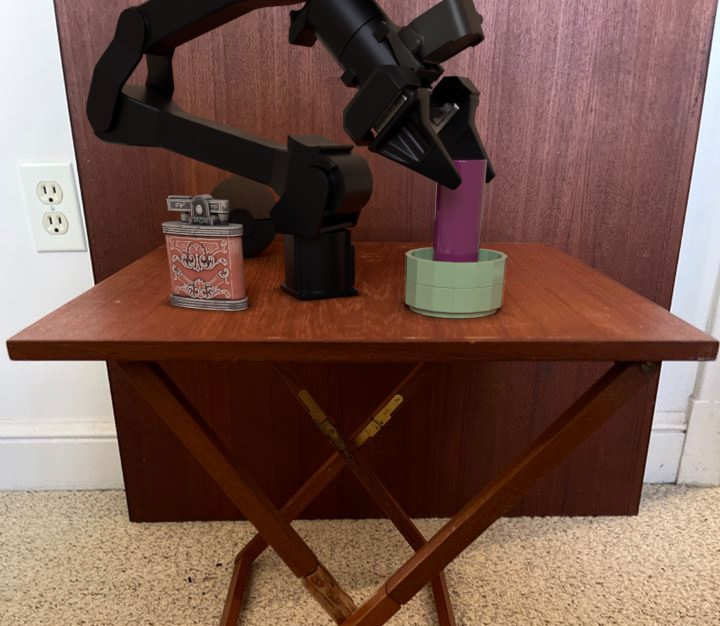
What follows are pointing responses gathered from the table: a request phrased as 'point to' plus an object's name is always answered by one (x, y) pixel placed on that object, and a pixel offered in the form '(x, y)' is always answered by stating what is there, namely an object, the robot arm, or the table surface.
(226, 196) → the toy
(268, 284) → the table surface
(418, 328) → the table surface
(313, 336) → the table surface
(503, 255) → the bowl
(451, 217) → the purple cylinder rod
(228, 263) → the lighter
